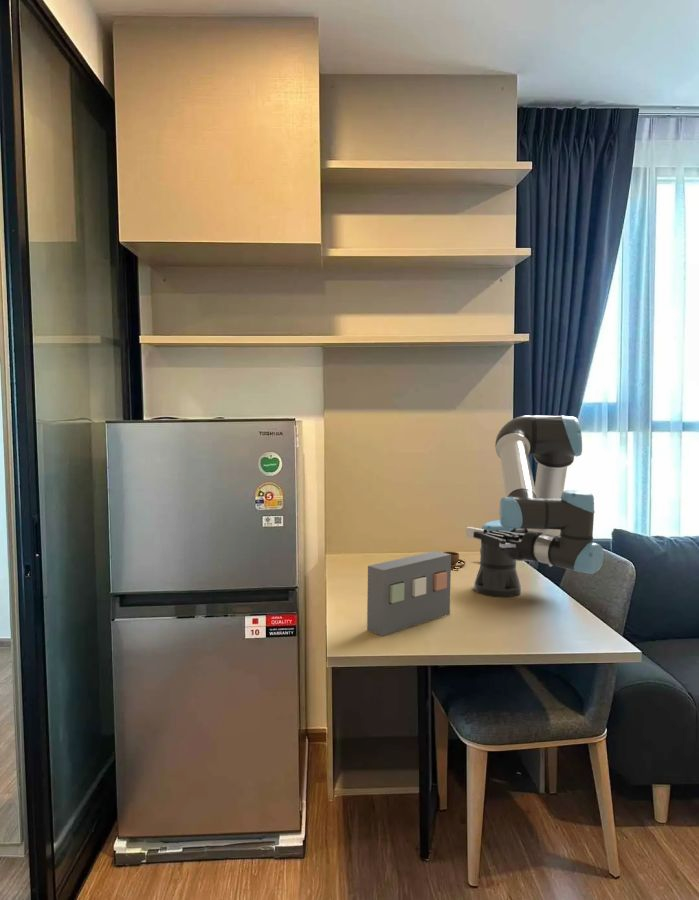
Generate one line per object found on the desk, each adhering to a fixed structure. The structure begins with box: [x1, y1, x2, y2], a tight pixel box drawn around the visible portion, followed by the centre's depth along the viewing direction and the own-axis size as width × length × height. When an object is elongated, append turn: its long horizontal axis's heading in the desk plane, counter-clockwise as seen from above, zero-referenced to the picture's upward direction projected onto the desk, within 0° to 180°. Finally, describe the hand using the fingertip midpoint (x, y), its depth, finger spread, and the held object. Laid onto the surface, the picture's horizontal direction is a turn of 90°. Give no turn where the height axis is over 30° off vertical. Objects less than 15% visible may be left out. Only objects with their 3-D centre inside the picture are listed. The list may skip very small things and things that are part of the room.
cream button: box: [412, 576, 426, 597], centre depth 188 cm, size 5×6×5 cm
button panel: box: [366, 550, 452, 637], centre depth 189 cm, size 28×6×18 cm, turn 132°
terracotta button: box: [433, 571, 447, 591], centre depth 194 cm, size 5×6×5 cm
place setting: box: [441, 547, 481, 571], centre depth 255 cm, size 18×20×6 cm
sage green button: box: [389, 582, 404, 603], centre depth 182 cm, size 5×6×5 cm
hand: (467, 531), depth 187 cm, fingers closed
